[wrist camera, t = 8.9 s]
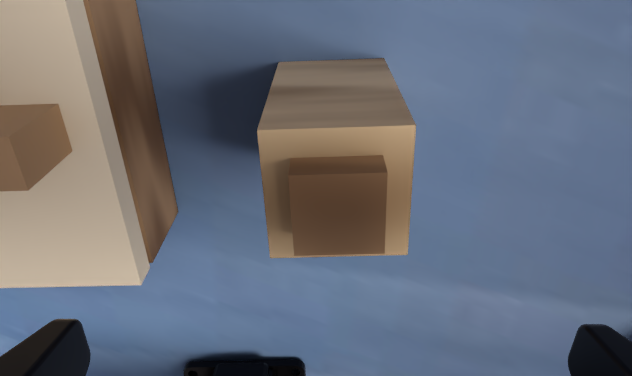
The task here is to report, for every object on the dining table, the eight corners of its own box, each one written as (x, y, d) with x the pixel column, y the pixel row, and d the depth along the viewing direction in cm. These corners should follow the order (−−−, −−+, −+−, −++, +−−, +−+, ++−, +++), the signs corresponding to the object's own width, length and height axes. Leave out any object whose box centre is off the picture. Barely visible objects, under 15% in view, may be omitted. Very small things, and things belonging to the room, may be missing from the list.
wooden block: (381, 154, 20) (413, 276, 13) (285, 157, 20) (266, 280, 13) (383, 58, 18) (423, 141, 11) (278, 62, 18) (252, 146, 11)
